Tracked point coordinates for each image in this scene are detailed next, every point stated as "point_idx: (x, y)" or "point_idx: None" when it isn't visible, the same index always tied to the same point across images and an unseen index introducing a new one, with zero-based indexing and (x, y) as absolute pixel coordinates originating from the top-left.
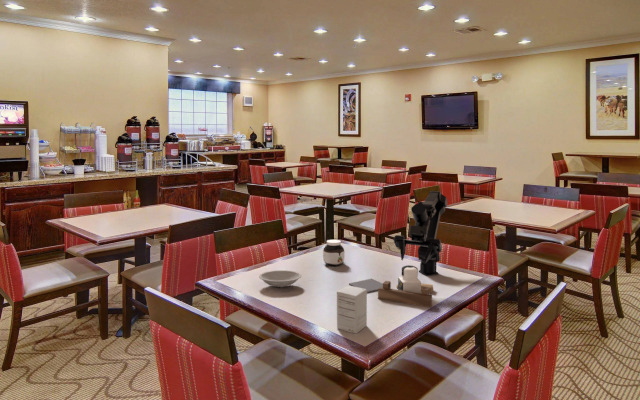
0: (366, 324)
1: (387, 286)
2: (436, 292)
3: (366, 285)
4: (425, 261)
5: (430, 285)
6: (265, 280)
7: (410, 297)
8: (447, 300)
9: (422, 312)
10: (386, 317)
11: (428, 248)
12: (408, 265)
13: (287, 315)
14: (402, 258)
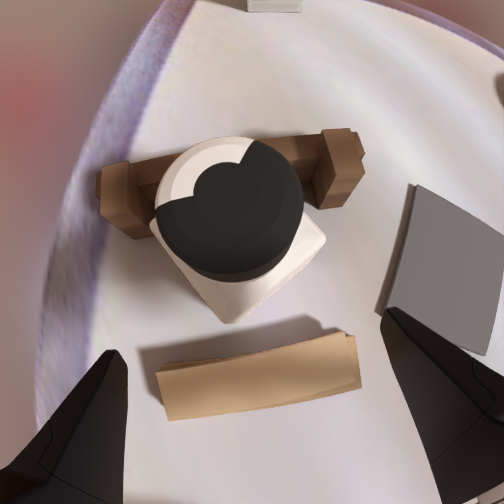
0: (247, 8)
1: (321, 136)
2: (150, 392)
3: (461, 257)
4: (103, 353)
5: (173, 401)
6: None
7: None
8: (80, 312)
9: (134, 137)
10: (227, 54)
11: (31, 487)
12: (259, 232)
13: (411, 10)
14: (388, 316)
